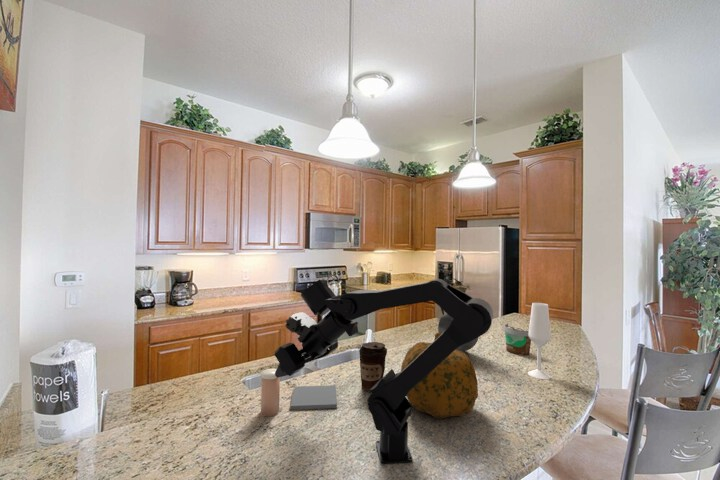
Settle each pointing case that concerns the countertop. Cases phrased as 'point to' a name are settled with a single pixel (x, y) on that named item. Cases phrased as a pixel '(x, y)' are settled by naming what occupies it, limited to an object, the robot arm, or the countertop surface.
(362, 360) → the coffee cup
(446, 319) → the pitcher
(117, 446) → the countertop surface
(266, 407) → the terracotta canister
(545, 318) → the champagne flute
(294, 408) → the mat
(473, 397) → the decorative pumpkin
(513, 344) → the food container
